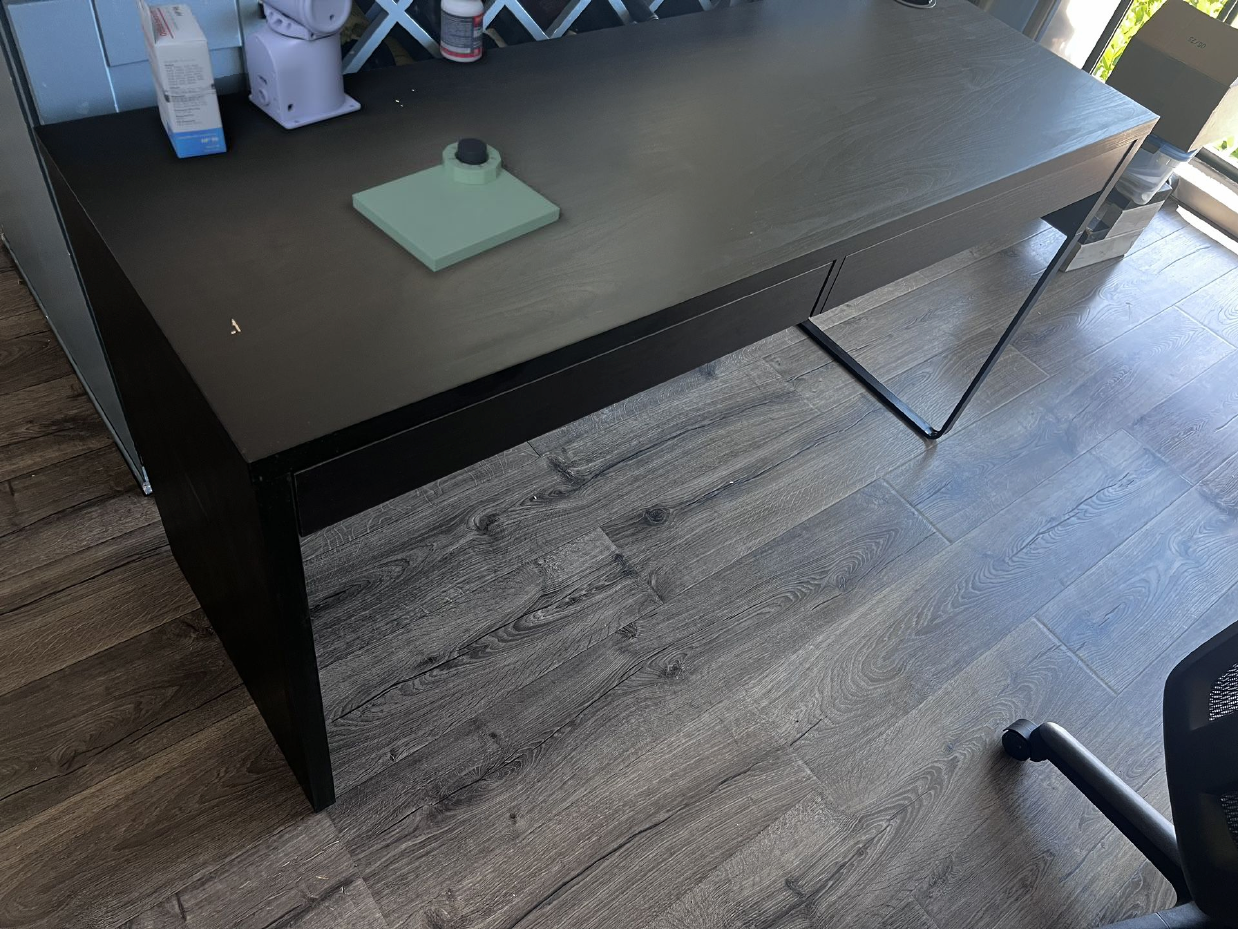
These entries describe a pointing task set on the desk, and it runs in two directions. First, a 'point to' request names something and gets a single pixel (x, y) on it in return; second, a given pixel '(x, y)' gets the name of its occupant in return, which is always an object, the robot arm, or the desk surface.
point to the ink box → (182, 78)
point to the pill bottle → (461, 29)
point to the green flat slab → (455, 209)
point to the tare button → (472, 151)
